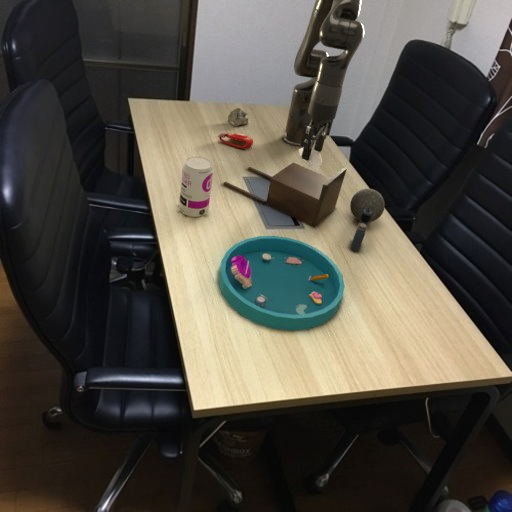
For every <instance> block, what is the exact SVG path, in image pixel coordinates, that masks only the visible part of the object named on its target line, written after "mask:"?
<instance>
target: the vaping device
mask: <svg viewBox="0 0 512 512" xmlns="http://www.w3.org/2000/svg"><path fill="white" fill-rule="evenodd" d="M370 210H371V209H370V208H367V209H364V210H363V213H362V217H361V219H360V221H359V222H358V225H357V228H356V230H355V232H354V235H353V238H352V241H351V244H350V250H351V251H353V252H355V253H356V252H359V251H360V249H361V247H362V245H363V241H364V238H365V235H366V231H367V229H368V226H369V223H370V222H369V220H370V217H371V214H372V212H371V211H370Z"/></svg>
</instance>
